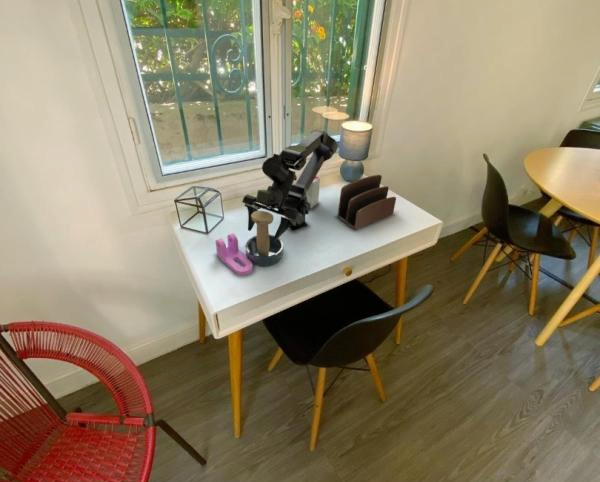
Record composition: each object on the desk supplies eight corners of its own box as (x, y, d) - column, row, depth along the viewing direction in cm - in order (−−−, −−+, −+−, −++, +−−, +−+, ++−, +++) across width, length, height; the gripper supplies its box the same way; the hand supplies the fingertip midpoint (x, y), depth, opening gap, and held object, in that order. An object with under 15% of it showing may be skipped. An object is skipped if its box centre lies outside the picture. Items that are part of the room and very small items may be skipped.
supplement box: (318, 203, 133) (320, 177, 126) (311, 209, 128) (312, 183, 122) (306, 198, 135) (307, 173, 128) (298, 205, 131) (299, 179, 124)
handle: (269, 262, 102) (268, 222, 93) (250, 257, 104) (248, 217, 95) (276, 253, 106) (275, 214, 97) (258, 248, 108) (256, 209, 99)
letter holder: (336, 217, 125) (340, 183, 117) (375, 203, 134) (381, 171, 126) (354, 230, 118) (360, 196, 110) (393, 214, 128) (401, 182, 120)
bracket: (217, 255, 105) (214, 238, 101) (232, 248, 108) (230, 231, 104) (240, 277, 97) (239, 259, 93) (256, 269, 100) (255, 251, 96)
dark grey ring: (271, 239, 112) (271, 230, 110) (290, 259, 104) (290, 249, 102) (240, 251, 107) (239, 241, 105) (257, 272, 99) (256, 262, 97)
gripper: (243, 170, 97) (222, 219, 96) (299, 187, 90) (278, 240, 89) (259, 183, 108) (241, 228, 106) (310, 199, 101) (292, 247, 99)
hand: (261, 235), depth 100 cm, fingers open, 9 cm apart
